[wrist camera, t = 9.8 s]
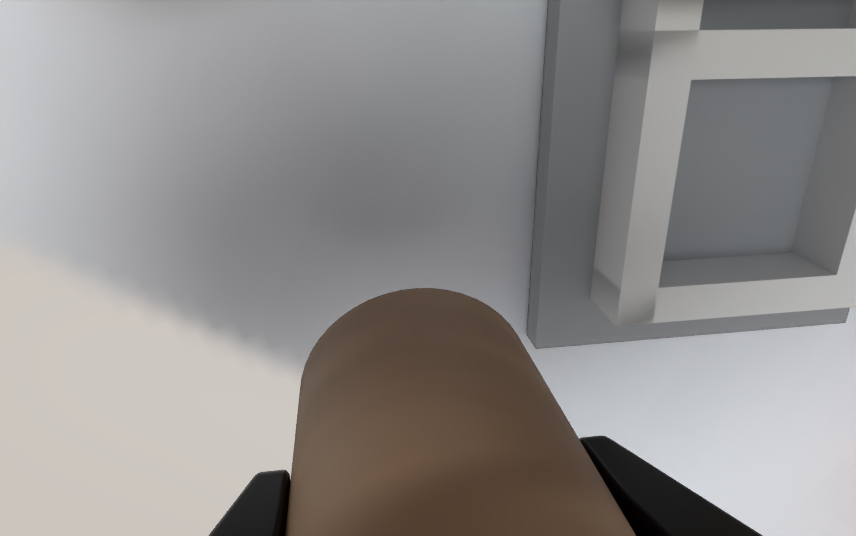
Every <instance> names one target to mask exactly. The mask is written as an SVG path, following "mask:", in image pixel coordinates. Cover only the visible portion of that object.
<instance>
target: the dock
mask: <svg viewBox="0 0 856 536" xmlns="http://www.w3.org/2000/svg"><path fill="white" fill-rule="evenodd" d="M850 307H856V0H548V15H547V31H546V46H545V62H544V77H543V93H542V108H541V124H540V140H539V155H538V171H537V186H536V202H535V218H534V233H533V249H532V264H531V280H530V295H529V311H528V327H527V336H528V337H529V339H530V341H531V342H532V344H533V345H534V347H535V349H539V348H551V347H563V346H575V345H587V344H599V343H611V342H623V341H634V340H646V339H658V338H670V337H682V336H694V335H706V334H718V333H729V332H741V331H753V330H765V329H777V328H789V327H801V326H813V325H824V324H836V323H845V322H846V319H847V315H848V312H849V309H850Z"/></svg>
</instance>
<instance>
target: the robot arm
mask: <svg viewBox="0 0 856 536" xmlns="http://www.w3.org/2000/svg"><path fill="white" fill-rule="evenodd" d="M579 440H580V442H581V443H582V445H583V447H584V449H585V450H586V452H587V454H588V455H589V457H590V459H591V460H592V462H593V464H594V465H595V467H596V469H597V471H598V472H599V474H600V476H601V477H602V479H603V481H604V482H605V484H606V486H607V487H608V489H609V491H610V493H611V494H612V496H613V498H614V499H615V501H616V503H617V504H618V506H619V508H620V509H621V511H622V513H623V515H624V516H625V518H626V520H627V521H628V523H629V525H630V526H631V528H632V530H633V531H634V533H635V535H636V536H762V535H761V534H759V533H758V532H756V531H754V530H753V529H751V528H750V527H748V526H747V525H745V524H743V523H742V522H740V521H739V520H737V519H736V518H734V517H732V516H731V515H729V514H728V513H726V512H725V511H723V510H721V509H720V508H718V507H717V506H715V505H714V504H712V503H710V502H709V501H707V500H706V499H704V498H703V497H701V496H699V495H698V494H696V493H695V492H693V491H692V490H690V489H688V488H687V487H685V486H684V485H682V484H681V483H679V482H677V481H676V480H674V479H673V478H671V477H670V476H668V475H666V474H665V473H663V472H662V471H660V470H659V469H657V468H655V467H654V466H652V465H651V464H649V463H648V462H646V461H644V460H643V459H641V458H640V457H638V456H637V455H635V454H633V453H632V452H630V451H629V450H627V449H626V448H624V447H622V446H621V445H619V444H618V443H616V442H615V441H613V440H611V439H610V438H608V437H606V436H593V437H583V438H580V439H579ZM290 482H291V481H290V475H289V473H288V472H287V471H286V470H277V471H268V472H260V473H258V474H257V475H255V476H254V478H253V479H252V480H251V481H250V483H249V484H248V485H247V487H246V488H245V489H244V491H243V492H242V493H241V494H240V496H239V497H238V498H237V500H236V501H235V502H234V503H233V505H232V506H231V507H230V509H229V510H228V511H227V512H226V514H225V515H224V517H223V518H222V519H221V520H220V522H219V523H218V524H217V525H216V527H215V528H214V529H213V531H212V532H211V533H210V535H209V536H285V531H286V521H287V511H288V502H289V492H290Z"/></svg>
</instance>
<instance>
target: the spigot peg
mask: <svg viewBox="0 0 856 536" xmlns="http://www.w3.org/2000/svg"><path fill="white" fill-rule="evenodd" d="M285 536H636V535H635V533H634V531H633V530H632V528H631V526H630V525H629V523H628V521H627V520H626V518H625V516H624V515H623V513H622V511H621V509H620V508H619V506H618V504H617V503H616V501H615V499H614V498H613V496H612V494H611V493H610V491H609V489H608V487H607V486H606V484H605V482H604V481H603V479H602V477H601V476H600V474H599V472H598V471H597V469H596V467H595V465H594V464H593V462H592V460H591V459H590V457H589V455H588V454H587V452H586V450H585V449H584V447H583V445H582V443H581V442H580V440H579V438H578V437H577V435H576V433H575V432H574V430H573V428H572V427H571V425H570V423H569V421H568V420H567V418H566V416H565V415H564V413H563V411H562V410H561V408H560V406H559V405H558V403H557V401H556V399H555V398H554V396H553V394H552V393H551V391H550V389H549V388H548V386H547V384H546V383H545V381H544V379H543V377H542V376H541V374H540V372H539V371H538V369H537V367H536V366H535V364H534V362H533V361H532V359H531V357H530V356H529V354H528V352H527V350H526V349H525V347H524V345H523V344H522V342H521V340H520V339H519V337H518V335H517V334H516V332H515V331H514V330H513V328H512V327H511V325H510V324H509V323H508V322H507V321H506V320H505V319H504V318H503V317H502V316H501V315H500V314H499V313H497V312H496V311H495V310H493V309H492V308H491V307H489V306H488V305H486V304H484V303H482V302H481V301H479V300H477V299H475V298H472V297H470V296H467V295H464V294H461V293H457V292H453V291H449V290H442V289H434V288H415V289H407V290H400V291H396V292H392V293H388V294H384V295H381V296H378V297H376V298H373V299H371V300H368V301H366V302H364V303H362V304H360V305H359V306H357V307H355V308H353V309H352V310H350V311H349V312H347V313H346V314H344V315H343V316H342V317H340V318H339V319H338V320H337V321H336V322H335V323H334V324H333V325H331V326H330V327H329V328H328V329H327V331H326V332H325V333H324V334H323V335H322V336H321V338H320V339H319V340H318V342H317V343H316V345H315V347H314V348H313V350H312V351H311V353H310V356H309V358H308V360H307V362H306V364H305V368H304V371H303V375H302V379H301V387H300V395H299V405H298V415H297V424H296V434H295V444H294V453H293V463H292V473H291V482H290V492H289V502H288V511H287V521H286V531H285Z"/></svg>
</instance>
